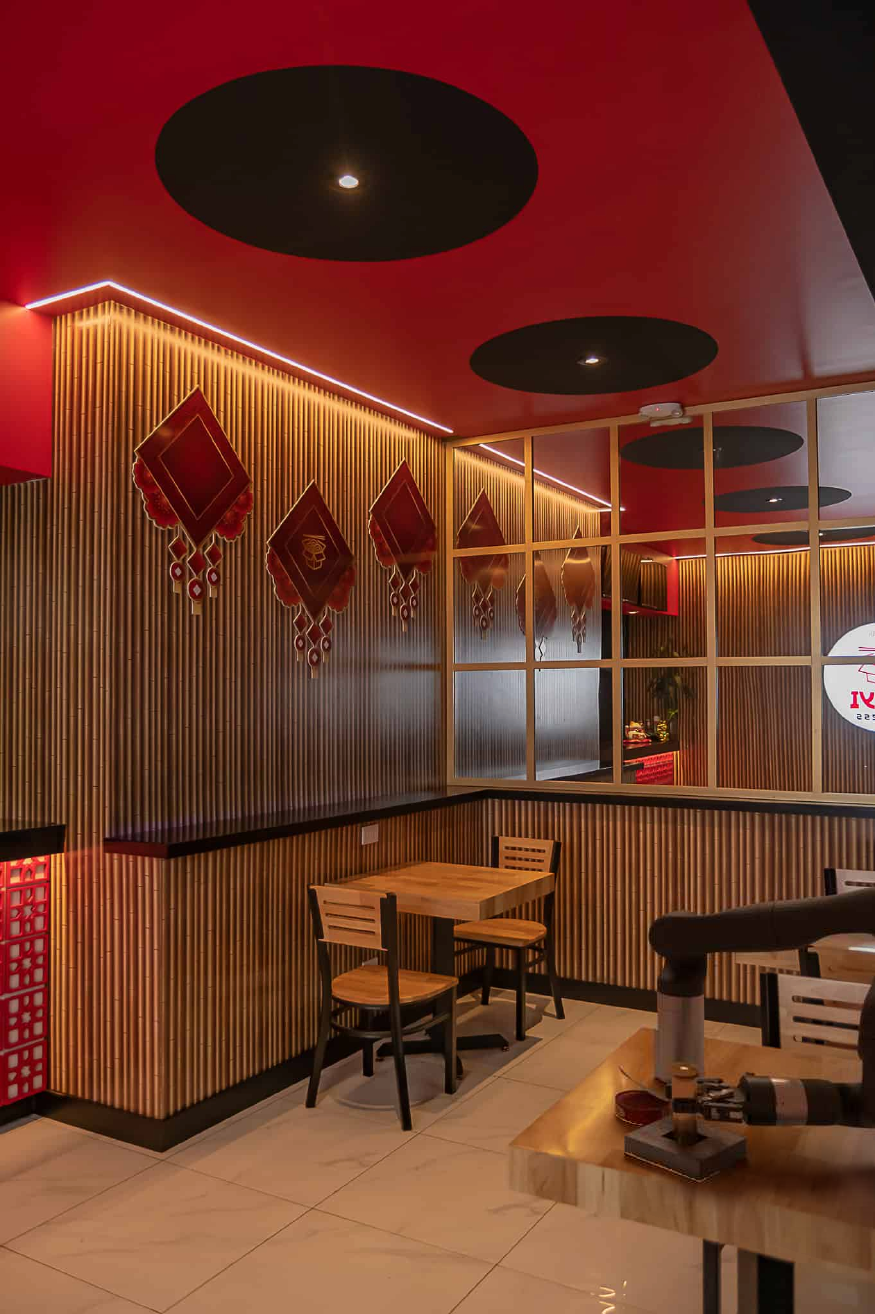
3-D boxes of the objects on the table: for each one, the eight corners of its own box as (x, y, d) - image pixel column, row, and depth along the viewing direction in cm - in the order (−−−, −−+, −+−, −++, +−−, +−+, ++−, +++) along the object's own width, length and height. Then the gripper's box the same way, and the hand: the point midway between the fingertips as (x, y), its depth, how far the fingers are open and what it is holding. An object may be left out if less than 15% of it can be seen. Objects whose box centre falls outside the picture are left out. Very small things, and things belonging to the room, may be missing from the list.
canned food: (623, 1133, 178) (624, 1076, 183) (677, 1137, 174) (676, 1078, 179) (604, 1121, 170) (606, 1062, 175) (660, 1125, 165) (660, 1064, 171)
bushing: (664, 1155, 157) (662, 1066, 158) (681, 1147, 160) (679, 1060, 162) (690, 1165, 153) (688, 1074, 155) (707, 1156, 157) (705, 1067, 158)
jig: (624, 1154, 157) (624, 1135, 157) (672, 1132, 166) (672, 1114, 167) (699, 1182, 147) (699, 1162, 147) (746, 1157, 156) (745, 1138, 157)
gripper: (759, 1063, 164) (660, 1060, 165) (785, 1092, 150) (676, 1089, 151) (760, 1108, 164) (661, 1106, 164) (786, 1142, 149) (677, 1139, 150)
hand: (669, 1098), depth 158 cm, fingers open, 6 cm apart
